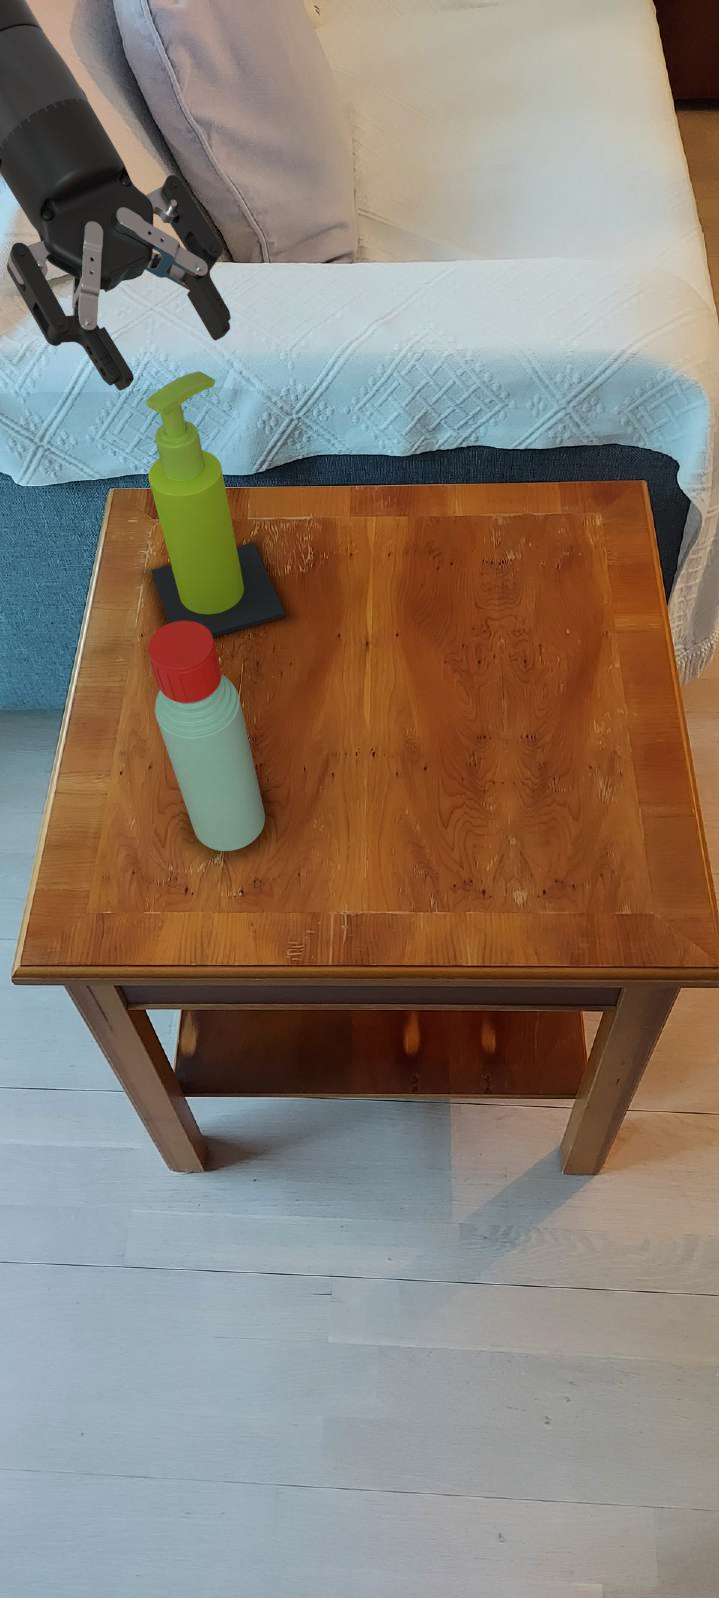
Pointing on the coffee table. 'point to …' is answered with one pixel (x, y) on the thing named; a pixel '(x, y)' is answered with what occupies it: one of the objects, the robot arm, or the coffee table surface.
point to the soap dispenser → (193, 505)
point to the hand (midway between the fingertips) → (176, 359)
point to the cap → (185, 661)
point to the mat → (248, 612)
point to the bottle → (214, 766)
